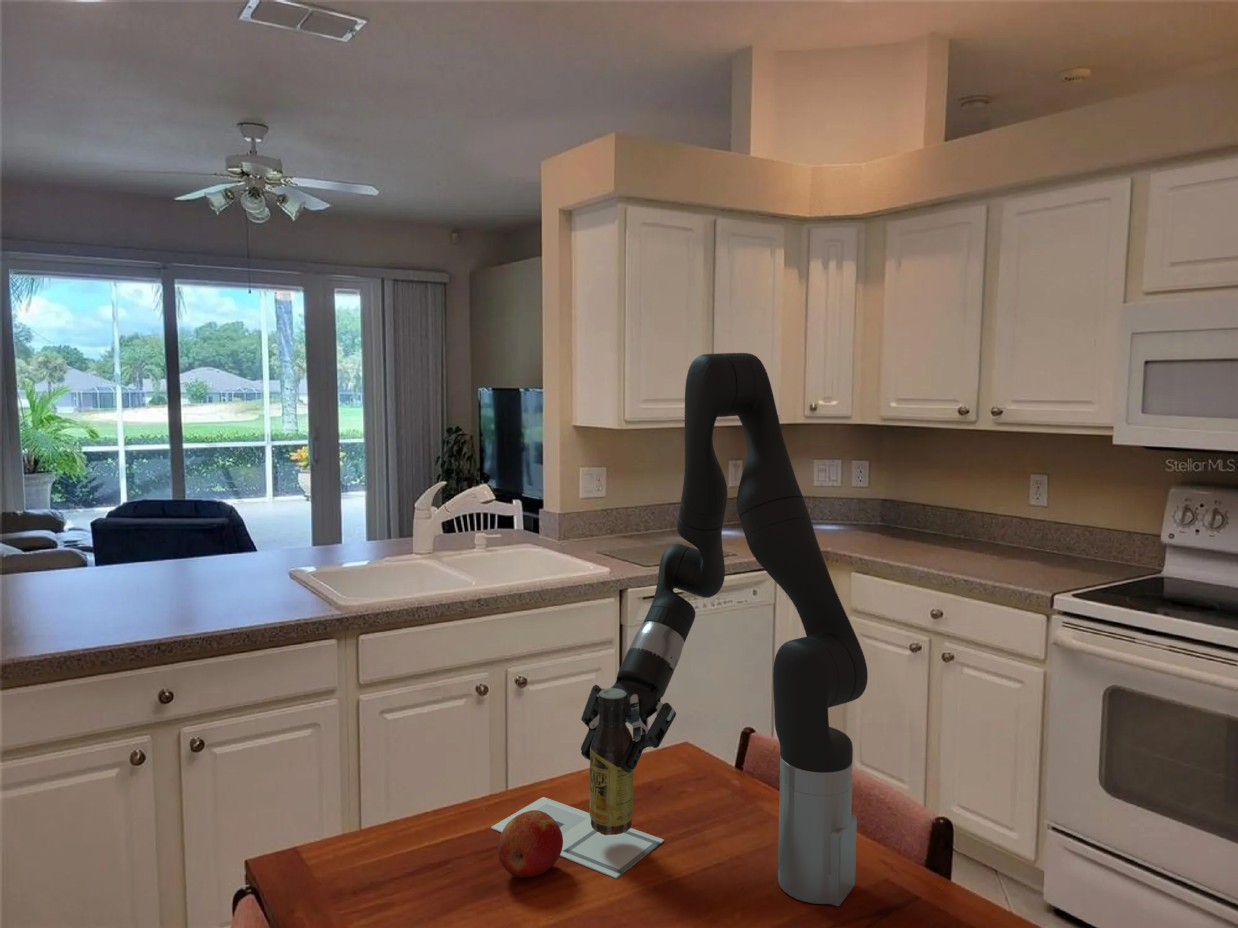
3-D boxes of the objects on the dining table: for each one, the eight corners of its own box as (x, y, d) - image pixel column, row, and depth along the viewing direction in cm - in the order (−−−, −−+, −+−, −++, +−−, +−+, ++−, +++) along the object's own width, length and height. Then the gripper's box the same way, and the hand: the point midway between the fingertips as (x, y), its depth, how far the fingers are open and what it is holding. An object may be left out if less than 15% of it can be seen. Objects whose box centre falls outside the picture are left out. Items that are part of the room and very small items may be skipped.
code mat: (664, 840, 122) (664, 839, 122) (616, 878, 112) (616, 877, 112) (543, 797, 135) (543, 796, 135) (490, 828, 125) (490, 826, 125)
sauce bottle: (583, 820, 122) (582, 686, 121) (624, 812, 124) (623, 681, 123) (598, 842, 116) (597, 702, 114) (640, 833, 118) (640, 696, 117)
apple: (571, 868, 115) (571, 811, 114) (532, 897, 108) (531, 837, 107) (527, 850, 119) (526, 795, 119) (486, 877, 112) (485, 820, 112)
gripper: (602, 638, 128) (553, 739, 120) (683, 655, 120) (637, 765, 111) (622, 663, 133) (576, 762, 124) (701, 681, 125) (658, 788, 116)
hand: (605, 763), depth 118 cm, fingers closed on sauce bottle, 6 cm apart
